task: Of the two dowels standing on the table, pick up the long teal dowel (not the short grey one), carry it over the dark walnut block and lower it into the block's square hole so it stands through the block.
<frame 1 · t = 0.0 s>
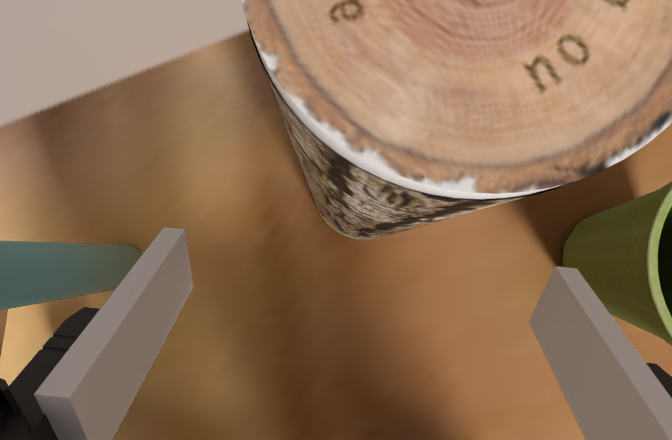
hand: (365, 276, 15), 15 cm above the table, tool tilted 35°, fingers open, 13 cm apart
long pin: (123, 266, 30), on the table
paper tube: (360, 196, 31), on the table
plant pot: (607, 261, 30), on the table
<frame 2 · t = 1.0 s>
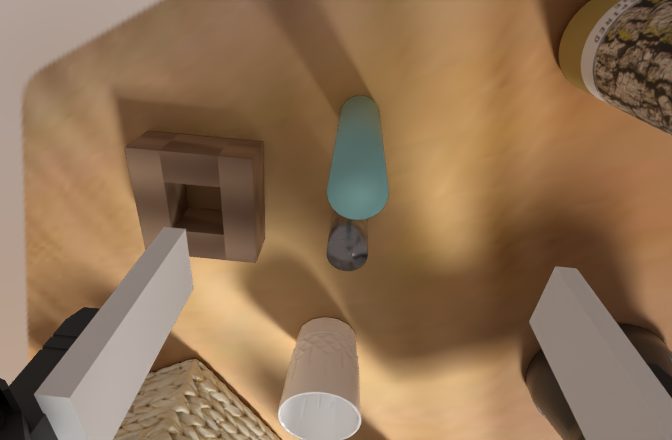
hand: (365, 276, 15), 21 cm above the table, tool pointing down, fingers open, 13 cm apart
white cup: (327, 336, 46), on the table
short pin: (349, 210, 37), on the table
storage basket: (206, 415, 56), on the table
long pin: (359, 115, 33), on the table
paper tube: (602, 40, 29), on the table
hole block: (210, 188, 37), on the table
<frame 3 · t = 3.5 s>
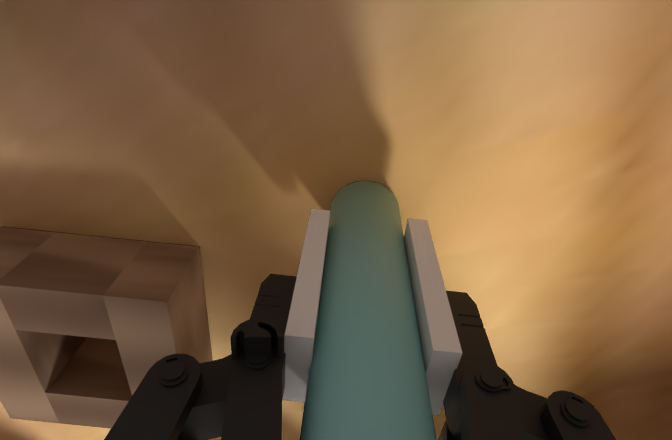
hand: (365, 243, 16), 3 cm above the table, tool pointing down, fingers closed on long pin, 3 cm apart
long pin: (364, 212, 19), on the table, touching gripper
hole block: (120, 309, 23), on the table
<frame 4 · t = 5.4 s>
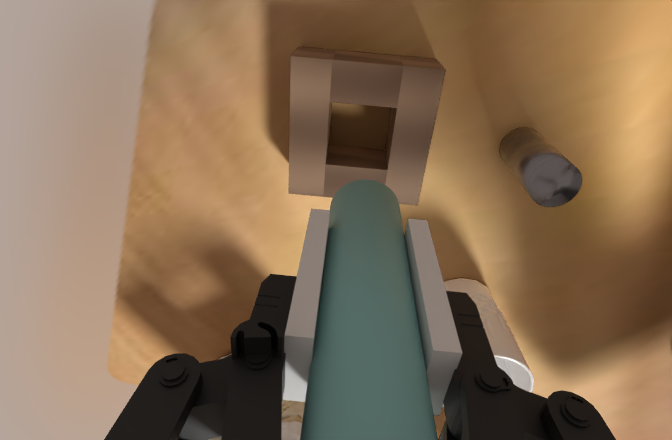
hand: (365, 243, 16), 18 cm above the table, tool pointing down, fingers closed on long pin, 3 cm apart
white cup: (457, 301, 41), on the table
short pin: (520, 146, 32), on the table
storage basket: (309, 391, 51), on the table
long pin: (364, 210, 19), point 15 cm above the table, touching gripper
hole block: (360, 120, 32), on the table
when the fingers open (6 cm above the table, at t = 7.3 s): long pin drops 2 cm, resting in hole block.
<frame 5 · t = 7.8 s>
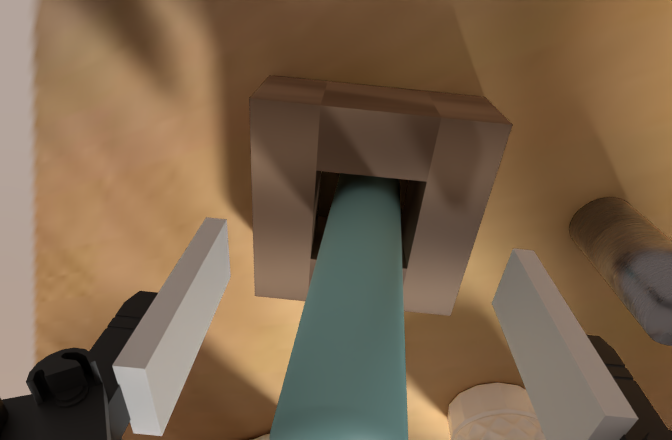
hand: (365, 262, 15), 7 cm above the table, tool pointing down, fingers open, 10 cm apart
white cup: (491, 406, 31), on the table
short pin: (600, 223, 22), on the table
long pin: (368, 183, 21), resting in hole block
hole block: (364, 182, 21), on the table
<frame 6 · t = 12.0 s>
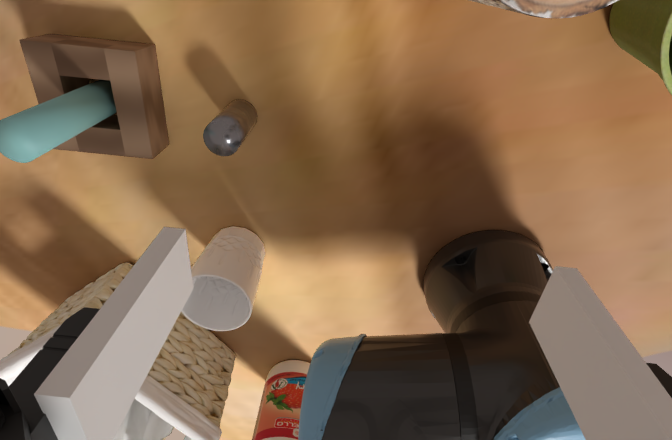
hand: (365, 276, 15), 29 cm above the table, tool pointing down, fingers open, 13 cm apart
white cup: (239, 247, 50), on the table
short pin: (241, 115, 41), on the table
fruit juice: (297, 377, 63), on the table
storage basket: (155, 327, 59), on the table
long pin: (115, 92, 41), resting in hole block
hole block: (113, 92, 41), on the table
plant pot: (653, 7, 35), on the table
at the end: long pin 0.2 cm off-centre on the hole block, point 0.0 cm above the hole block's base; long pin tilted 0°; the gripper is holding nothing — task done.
